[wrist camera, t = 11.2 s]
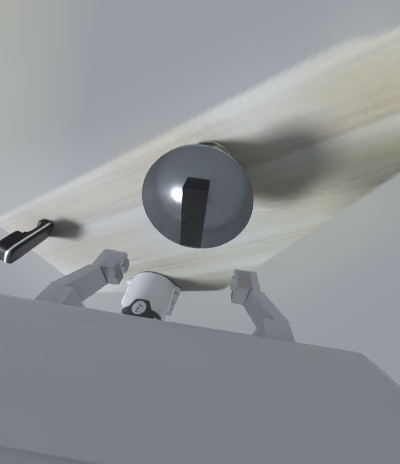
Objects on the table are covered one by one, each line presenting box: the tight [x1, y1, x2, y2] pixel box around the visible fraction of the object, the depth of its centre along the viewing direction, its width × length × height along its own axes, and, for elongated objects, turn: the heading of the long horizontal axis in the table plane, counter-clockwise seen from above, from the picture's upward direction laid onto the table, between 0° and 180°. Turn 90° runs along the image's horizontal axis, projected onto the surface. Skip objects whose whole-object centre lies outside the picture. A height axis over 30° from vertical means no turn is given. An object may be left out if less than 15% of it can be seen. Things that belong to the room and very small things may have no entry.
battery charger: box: [0, 220, 53, 263], centre depth 41 cm, size 7×4×11 cm, turn 137°
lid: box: [142, 144, 253, 248], centre depth 18 cm, size 13×13×4 cm
